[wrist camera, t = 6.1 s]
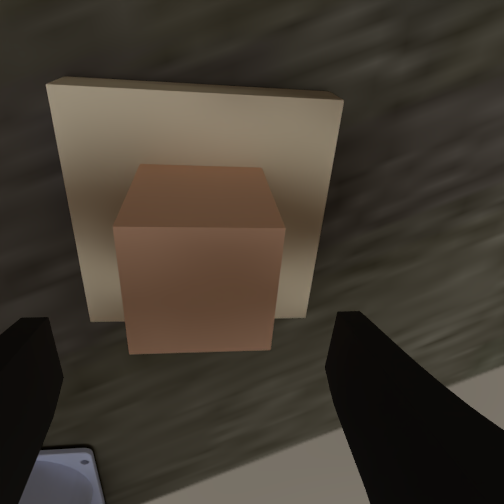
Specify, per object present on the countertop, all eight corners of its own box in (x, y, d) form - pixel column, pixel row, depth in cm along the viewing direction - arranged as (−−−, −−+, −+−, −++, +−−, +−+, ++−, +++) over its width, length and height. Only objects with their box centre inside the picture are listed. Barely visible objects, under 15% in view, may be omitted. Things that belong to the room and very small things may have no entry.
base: (297, 292, 21) (305, 317, 19) (100, 295, 19) (90, 322, 18) (328, 91, 15) (344, 100, 14) (64, 76, 14) (45, 84, 12)
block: (253, 267, 17) (270, 350, 13) (148, 267, 16) (129, 354, 12) (261, 167, 15) (285, 228, 10) (139, 164, 14) (112, 226, 10)
